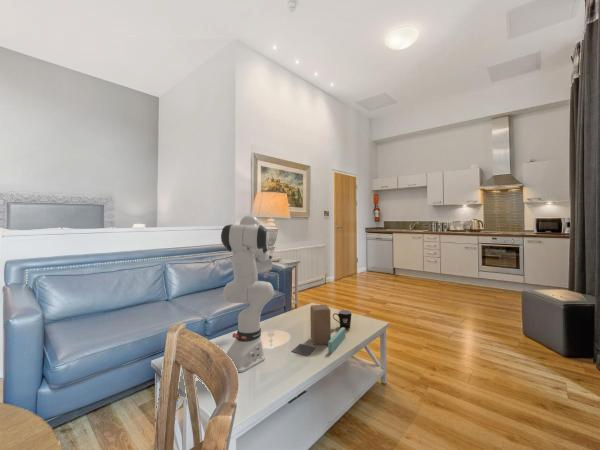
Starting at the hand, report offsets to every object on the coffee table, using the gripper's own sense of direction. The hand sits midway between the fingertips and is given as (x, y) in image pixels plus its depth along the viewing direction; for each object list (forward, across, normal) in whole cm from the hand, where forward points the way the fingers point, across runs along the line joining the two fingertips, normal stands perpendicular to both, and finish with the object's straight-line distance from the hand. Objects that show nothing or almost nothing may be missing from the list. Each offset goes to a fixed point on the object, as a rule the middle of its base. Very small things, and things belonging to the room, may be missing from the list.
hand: (261, 279), depth 176 cm
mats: (+33, +3, -36) cm, 49 cm away
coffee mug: (+33, +30, -44) cm, 63 cm away
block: (+33, +3, -40) cm, 52 cm away
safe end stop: (+33, +3, -50) cm, 60 cm away
